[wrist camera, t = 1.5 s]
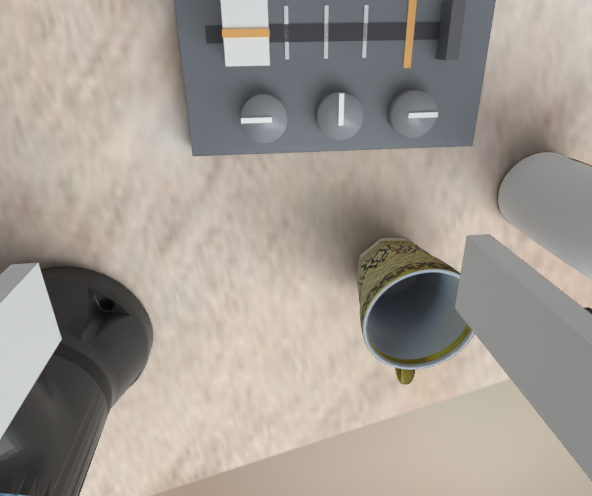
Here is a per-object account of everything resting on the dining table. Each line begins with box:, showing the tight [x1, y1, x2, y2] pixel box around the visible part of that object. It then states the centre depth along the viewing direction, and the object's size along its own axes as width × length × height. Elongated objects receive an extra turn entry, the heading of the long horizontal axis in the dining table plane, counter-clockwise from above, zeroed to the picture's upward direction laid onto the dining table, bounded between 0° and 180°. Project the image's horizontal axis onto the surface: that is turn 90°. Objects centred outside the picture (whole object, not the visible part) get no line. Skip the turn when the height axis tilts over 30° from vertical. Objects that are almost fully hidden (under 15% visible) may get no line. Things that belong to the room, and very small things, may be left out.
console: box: [174, 0, 496, 156], centre depth 33 cm, size 24×16×4 cm, turn 91°
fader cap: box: [220, 0, 270, 67], centre depth 30 cm, size 3×4×4 cm
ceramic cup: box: [357, 238, 475, 384], centre depth 41 cm, size 13×10×10 cm
